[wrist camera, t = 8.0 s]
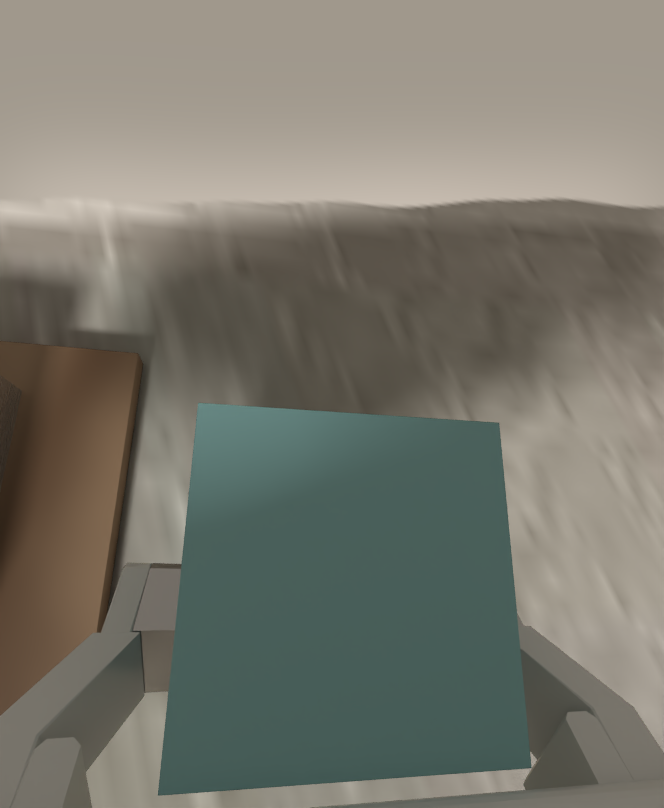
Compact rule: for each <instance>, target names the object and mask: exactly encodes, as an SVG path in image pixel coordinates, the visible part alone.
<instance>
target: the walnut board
mask: <svg viewBox="0 0 664 808" xmlns="http://www.w3.org/2000/svg"><path fill="white" fill-rule="evenodd" d="M142 368H143V363H142V361H141V359H140V356H139V354H138V353H128V352H117V351H106V350H95V349H84V348H72V347H61V346H50V345H39V344H28V343H17V342H6V341H0V375H1V376H2V377H4V378H5V379H6V380H8V381H9V382H10V383H12V384H13V385H15V386H16V387H17V388H19V389H20V390H21V391H22V394H21V399H20V403H19V408H18V412H17V417H16V421H15V426H14V430H13V435H12V439H11V444H10V448H9V453H8V457H7V462H6V466H5V471H4V475H3V480H2V484H1V489H0V716H1V715H2V714H3V713H4V712H5V711H6V710H7V709H8V708H10V707H11V706H12V705H13V704H14V703H15V702H16V701H17V700H18V699H20V698H21V697H22V696H23V695H24V694H25V693H26V692H27V691H29V690H30V689H31V688H32V687H33V686H34V685H35V684H36V683H37V682H39V681H40V680H41V679H42V678H43V677H44V676H45V675H46V674H47V673H49V672H50V671H51V670H52V669H53V668H54V667H55V666H56V665H58V664H59V663H60V662H61V661H62V660H63V659H64V658H65V657H66V656H68V655H69V654H70V653H71V652H72V651H73V650H74V649H75V648H76V647H78V646H79V645H80V644H81V643H82V642H83V641H84V640H85V639H87V638H88V637H89V636H90V635H91V634H92V633H101V631H102V628H103V625H104V622H105V619H106V616H107V610H108V603H109V596H110V589H111V582H112V575H113V568H114V561H115V554H116V547H117V541H118V534H119V527H120V520H121V513H122V506H123V499H124V492H125V485H126V478H127V471H128V465H129V458H130V451H131V444H132V437H133V430H134V423H135V416H136V409H137V402H138V396H139V389H140V382H141V375H142Z"/></svg>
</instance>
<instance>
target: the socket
mask: <svg viewBox="0 0 664 808" xmlns="http://www.w3.org/2000/svg"><path fill="white" fill-rule="evenodd" d="M21 394H22V391H21V390H20V389H19V388H17V387H16V386H15V385H13V384H12V383H10V382H9V381H8V380H6V379H5V378H4V377H2V376H1V375H0V489H1V484H2V480H3V475H4V471H5V466H6V462H7V457H8V453H9V448H10V444H11V439H12V435H13V430H14V426H15V421H16V417H17V412H18V408H19V403H20V399H21Z"/></svg>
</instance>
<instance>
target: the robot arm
mask: <svg viewBox="0 0 664 808" xmlns="http://www.w3.org/2000/svg"><path fill="white" fill-rule="evenodd" d="M181 566H182V564H164V563H127V564H126V565H125V567H124V568H123V570H122V573H121V576H120V578H119V581H118V584H117V587H116V590H115V593H114V596H113V599H112V602H111V605H110V607H109V610H108V613H107V616H106V619H105V622H104V625H103V628H102V631H101V633H92V634H91V635H90V636H89V637H88V638H87V639H85V640H84V641H83V642H82V643H81V644H80V645H79V646H78V647H76V648H75V649H74V650H73V651H72V652H71V653H70V654H69V655H68V656H66V657H65V658H64V659H63V660H62V661H61V662H60V663H59V664H58V665H56V666H55V667H54V668H53V669H52V670H51V671H50V672H49V673H47V674H46V675H45V676H44V677H43V678H42V679H41V680H40V681H39V682H37V683H36V684H35V685H34V686H33V687H32V688H31V689H30V690H29V691H27V692H26V693H25V694H24V695H23V696H22V697H21V698H20V699H18V700H17V701H16V702H15V703H14V704H13V705H12V706H11V707H10V708H8V709H7V710H6V711H5V712H4V713H3V714H2V715H1V716H0V808H92V805H91V799H90V794H89V788H88V783H87V777H86V771H87V770H88V769H89V767H90V766H91V765H92V763H93V762H94V761H95V760H96V758H97V757H98V756H99V754H100V753H101V752H102V750H103V749H104V748H105V746H106V745H107V744H108V743H109V741H110V740H111V739H112V737H113V736H114V735H115V733H116V732H117V731H118V729H119V728H120V727H121V726H122V724H123V723H124V722H125V720H126V719H127V718H128V716H129V715H130V714H131V712H132V711H133V710H134V709H135V707H136V706H137V705H138V703H139V702H140V701H141V699H142V698H143V697H144V693H148V692H163V691H169V683H170V673H171V663H172V653H173V644H174V634H175V624H176V614H177V605H178V595H179V585H180V575H181ZM517 619H518V630H519V640H520V651H521V662H522V672H523V683H524V694H525V704H526V715H527V725H528V736H529V747H530V752H531V753H532V754H533V755H534V756H535V757H536V759H537V761H536V763H535V764H534V766H533V768H532V769H531V771H530V772H529V774H528V776H527V777H526V780H525V782H524V787H525V789H526V790H520V791H508V792H496V793H483V794H471V795H459V796H447V797H434V798H422V799H410V800H398V801H385V802H373V803H361V804H349V805H337V806H325V807H312V808H664V753H663V751H662V750H661V748H660V746H659V745H658V743H657V742H656V740H655V739H654V737H653V736H652V734H651V733H650V731H649V730H648V728H647V727H646V725H645V724H644V722H643V721H642V719H641V718H640V716H639V715H638V713H637V712H636V710H635V708H634V707H633V706H632V705H630V704H629V703H628V702H626V701H625V700H624V699H623V698H621V697H620V696H619V695H618V694H616V693H615V692H614V691H612V690H611V689H610V688H609V687H607V686H606V685H605V684H603V683H602V682H601V681H600V680H598V679H597V678H596V677H595V676H593V675H592V674H591V673H589V672H588V671H587V670H586V669H584V668H583V667H582V666H581V665H579V664H578V663H577V662H575V661H574V660H573V659H572V658H570V657H569V656H568V655H567V654H565V653H564V652H563V651H561V650H560V649H559V648H558V647H556V646H555V645H554V644H553V643H551V642H550V641H549V640H547V639H546V638H545V637H544V636H542V635H541V634H540V633H538V632H537V631H536V630H535V629H533V628H532V627H531V626H524V625H523V623H522V621H521V619H520V617H519V616H518V614H517Z"/></svg>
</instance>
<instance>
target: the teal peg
mask: <svg viewBox="0 0 664 808" xmlns="http://www.w3.org/2000/svg"><path fill="white" fill-rule="evenodd" d="M525 768H531V757H530V747H529V736H528V725H527V715H526V704H525V694H524V683H523V672H522V662H521V651H520V640H519V630H518V619H517V609H516V598H515V587H514V577H513V566H512V555H511V545H510V534H509V524H508V513H507V502H506V492H505V481H504V470H503V460H502V449H501V439H500V428H499V423H494V422H479V421H463V420H448V419H433V418H418V417H403V416H388V415H373V414H358V413H343V412H328V411H313V410H298V409H283V408H268V407H253V406H238V405H223V404H208V403H198V410H197V419H196V429H195V439H194V449H193V458H192V468H191V478H190V488H189V497H188V507H187V517H186V527H185V536H184V546H183V556H182V566H181V575H180V585H179V595H178V605H177V614H176V624H175V634H174V644H173V653H172V663H171V673H170V683H169V692H168V702H167V712H166V722H165V731H164V741H163V751H162V761H161V770H160V780H159V790H158V796H159V795H172V794H186V793H199V792H213V791H227V790H240V789H254V788H267V787H281V786H294V785H308V784H321V783H335V782H349V781H362V780H376V779H389V778H403V777H416V776H430V775H443V774H457V773H470V772H484V771H498V770H511V769H525Z"/></svg>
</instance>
